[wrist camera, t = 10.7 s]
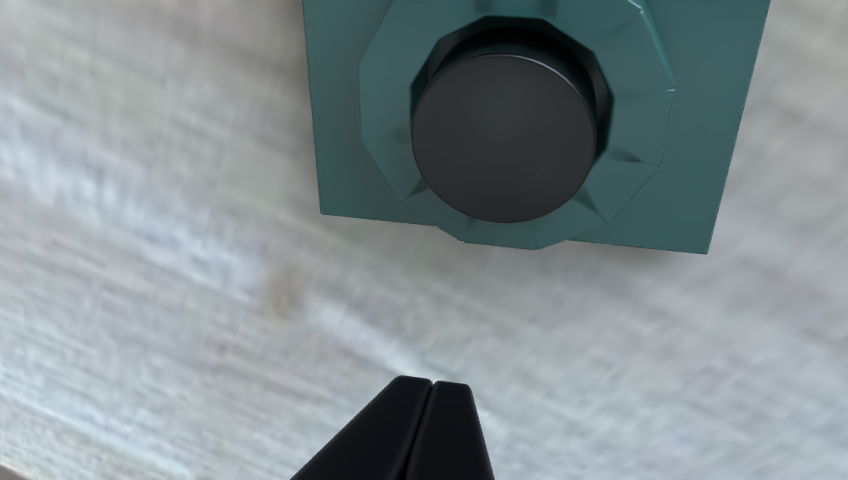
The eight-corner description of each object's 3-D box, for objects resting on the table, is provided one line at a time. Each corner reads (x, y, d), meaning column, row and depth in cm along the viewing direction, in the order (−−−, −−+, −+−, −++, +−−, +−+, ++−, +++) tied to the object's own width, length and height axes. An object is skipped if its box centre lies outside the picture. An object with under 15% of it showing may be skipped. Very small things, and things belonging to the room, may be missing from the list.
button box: (777, -110, 15) (818, -81, 13) (700, 220, 20) (717, 299, 17) (316, -122, 17) (259, -99, 14) (338, 185, 21) (297, 251, 18)
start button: (607, 31, 15) (608, 60, 13) (585, 192, 17) (584, 233, 15) (427, 20, 15) (409, 47, 14) (427, 177, 17) (411, 215, 16)
